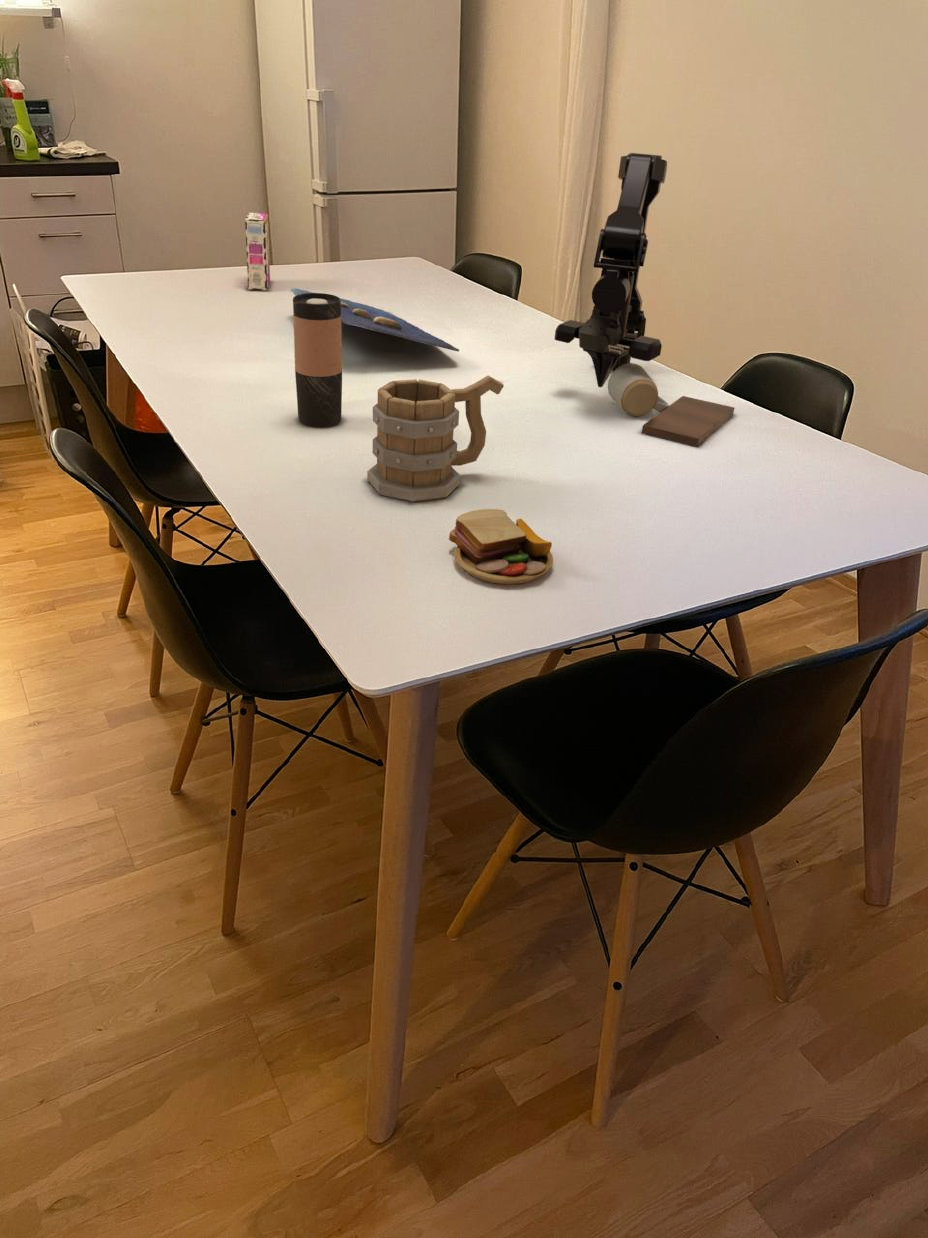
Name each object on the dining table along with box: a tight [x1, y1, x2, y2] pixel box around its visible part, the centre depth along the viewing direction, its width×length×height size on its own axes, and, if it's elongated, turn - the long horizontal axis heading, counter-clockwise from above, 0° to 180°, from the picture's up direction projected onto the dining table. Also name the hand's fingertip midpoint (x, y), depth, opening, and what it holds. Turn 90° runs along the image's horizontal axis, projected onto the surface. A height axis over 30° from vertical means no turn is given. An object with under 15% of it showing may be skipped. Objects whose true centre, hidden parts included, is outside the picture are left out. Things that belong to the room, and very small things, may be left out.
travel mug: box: [292, 292, 343, 429], centre depth 155 cm, size 8×8×20 cm
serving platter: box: [289, 287, 460, 352], centre depth 202 cm, size 45×27×12 cm, turn 25°
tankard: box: [366, 375, 505, 503], centre depth 138 cm, size 20×13×15 cm, turn 114°
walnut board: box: [641, 395, 735, 448], centre depth 169 cm, size 20×10×2 cm, turn 149°
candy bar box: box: [244, 212, 271, 292], centre depth 235 cm, size 11×5×16 cm, turn 6°
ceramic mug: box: [607, 362, 670, 417], centre depth 172 cm, size 11×8×8 cm
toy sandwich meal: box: [448, 508, 554, 585], centre depth 120 cm, size 12×14×5 cm
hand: (600, 386), depth 176 cm, fingers closed
